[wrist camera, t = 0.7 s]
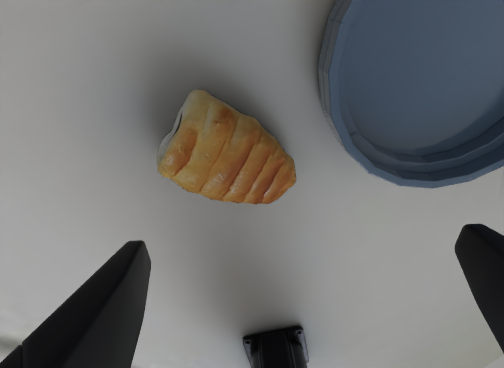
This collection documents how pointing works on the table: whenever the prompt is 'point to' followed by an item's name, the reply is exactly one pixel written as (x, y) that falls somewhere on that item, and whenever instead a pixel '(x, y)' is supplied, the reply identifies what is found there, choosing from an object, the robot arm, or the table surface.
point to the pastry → (224, 154)
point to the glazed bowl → (416, 87)
